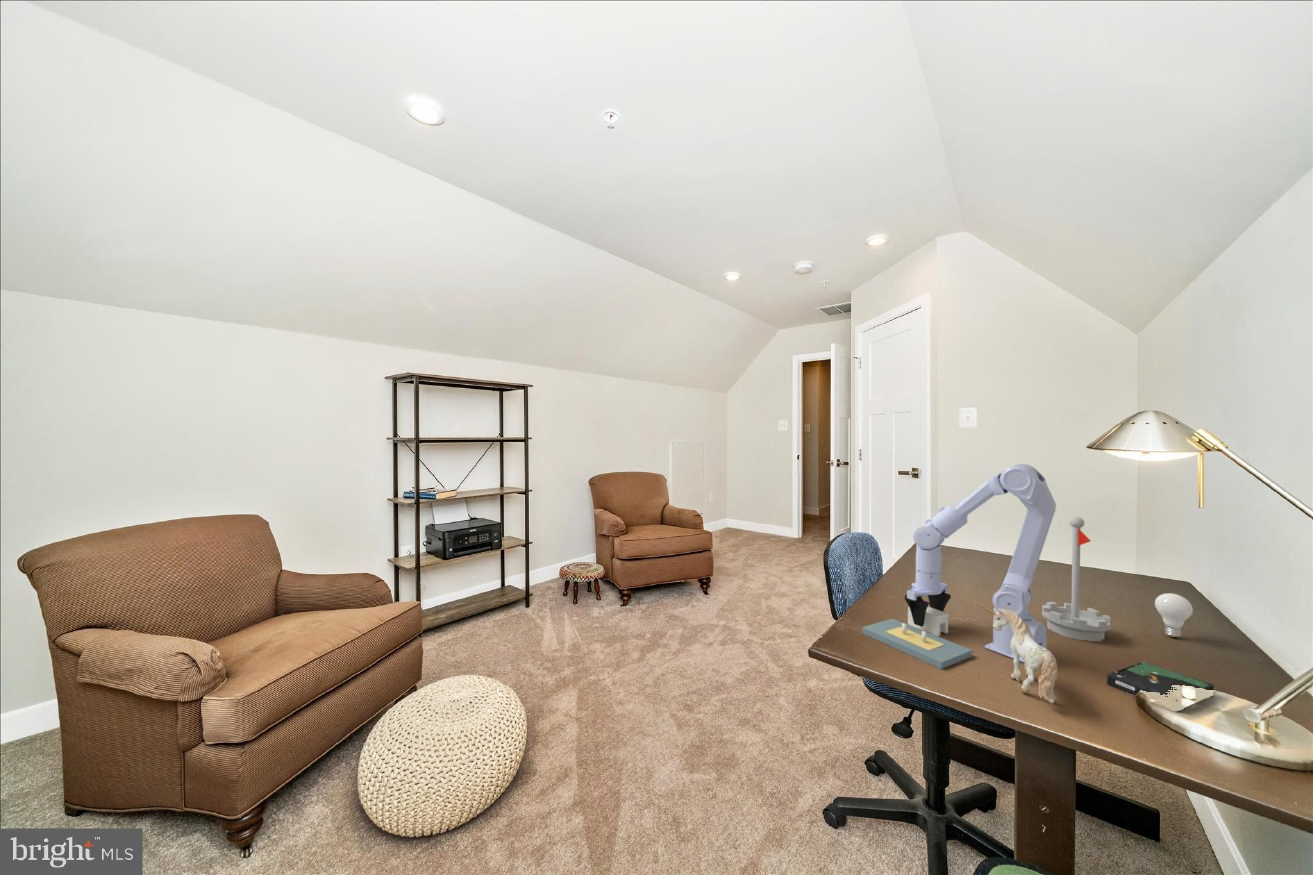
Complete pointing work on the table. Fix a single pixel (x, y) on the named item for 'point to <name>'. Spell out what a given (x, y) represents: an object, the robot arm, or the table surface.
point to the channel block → (932, 621)
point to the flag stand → (1076, 601)
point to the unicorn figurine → (1027, 654)
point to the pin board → (917, 643)
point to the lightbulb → (1173, 612)
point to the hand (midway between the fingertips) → (927, 622)
